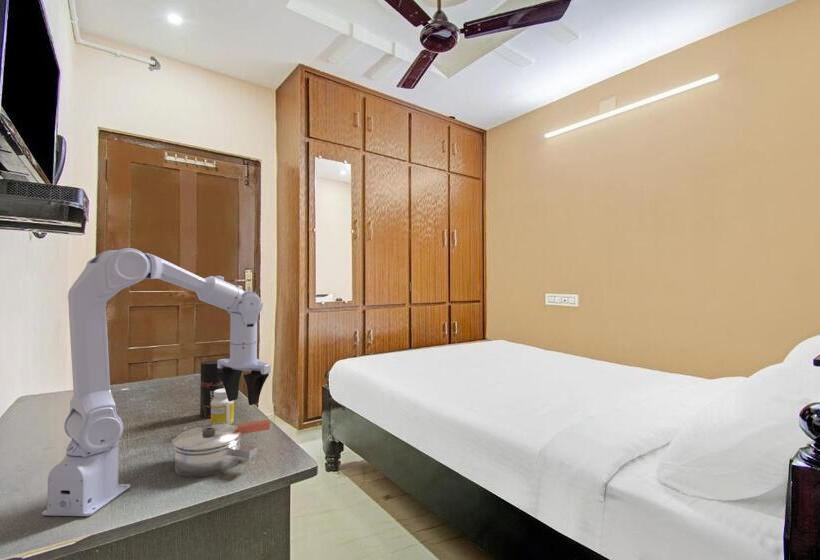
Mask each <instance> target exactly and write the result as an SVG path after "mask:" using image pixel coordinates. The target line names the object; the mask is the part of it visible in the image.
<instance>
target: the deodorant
mask: <svg viewBox="0 0 820 560" xmlns="http://www.w3.org/2000/svg"><path fill="white" fill-rule="evenodd" d="M217 360H218V359H210V360H209V359H208V360H204V361H202V362H200V386H199V387H200V393H199V395H200V397H199V398H200V400H199V403H200V404H199V407H200V408H199V417H200V418H202V419H211V401H212V400H213V399H215V397H214V391H215V390H218V389H224V388H225V387H224V385H223V383H222V381H221V379H220V377H219V376H218V372H219V371H222V370H223V368H217Z"/></svg>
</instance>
